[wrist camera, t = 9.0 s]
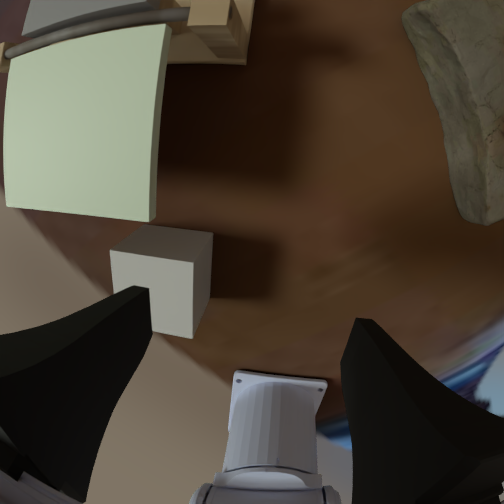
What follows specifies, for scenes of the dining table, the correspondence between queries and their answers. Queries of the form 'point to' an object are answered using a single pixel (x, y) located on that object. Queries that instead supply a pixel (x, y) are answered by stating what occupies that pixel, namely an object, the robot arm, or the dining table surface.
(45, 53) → the trapdoor
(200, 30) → the frame
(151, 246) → the white cube
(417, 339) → the dining table surface
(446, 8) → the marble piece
